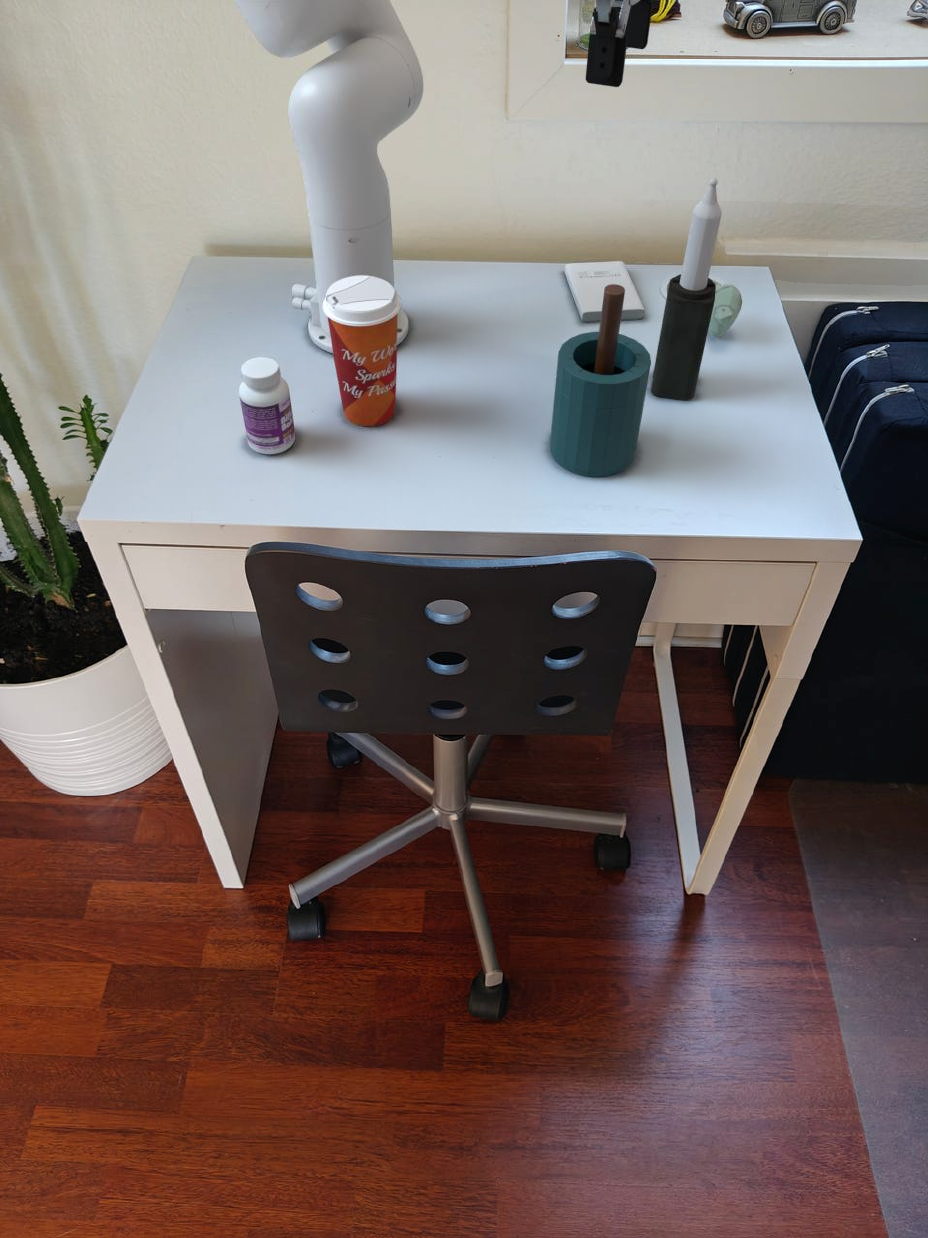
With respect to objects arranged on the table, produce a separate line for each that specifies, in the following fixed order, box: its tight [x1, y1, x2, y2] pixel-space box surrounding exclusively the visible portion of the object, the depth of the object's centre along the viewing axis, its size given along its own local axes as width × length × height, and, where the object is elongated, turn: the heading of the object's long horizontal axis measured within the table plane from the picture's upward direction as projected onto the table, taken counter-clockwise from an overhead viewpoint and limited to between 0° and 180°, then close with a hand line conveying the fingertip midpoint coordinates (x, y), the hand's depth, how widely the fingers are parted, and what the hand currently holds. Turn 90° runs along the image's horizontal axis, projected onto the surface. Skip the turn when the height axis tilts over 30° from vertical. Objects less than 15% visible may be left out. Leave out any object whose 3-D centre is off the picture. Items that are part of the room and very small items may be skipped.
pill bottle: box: [238, 356, 296, 455], centre depth 108 cm, size 5×5×10 cm
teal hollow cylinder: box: [549, 331, 652, 478], centre depth 107 cm, size 9×9×12 cm
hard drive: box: [564, 260, 646, 323], centre depth 132 cm, size 2×8×12 cm
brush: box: [594, 284, 625, 375], centre depth 103 cm, size 4×4×19 cm
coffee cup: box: [323, 275, 402, 427], centre depth 110 cm, size 8×8×15 cm
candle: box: [650, 177, 723, 401], centre depth 110 cm, size 5×5×25 cm
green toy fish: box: [708, 283, 743, 337], centre depth 124 cm, size 8×4×7 cm, turn 2°
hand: (616, 64), depth 91 cm, fingers open, 9 cm apart
